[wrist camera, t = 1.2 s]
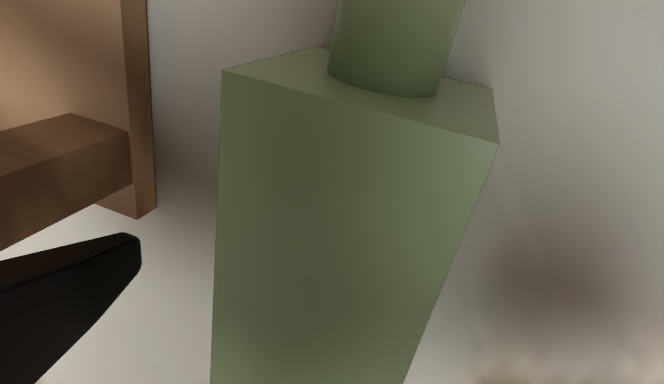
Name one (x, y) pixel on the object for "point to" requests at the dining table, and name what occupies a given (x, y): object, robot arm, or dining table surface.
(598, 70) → the dining table surface
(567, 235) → the dining table surface
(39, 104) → the cradle
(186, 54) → the dining table surface
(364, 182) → the bottle
